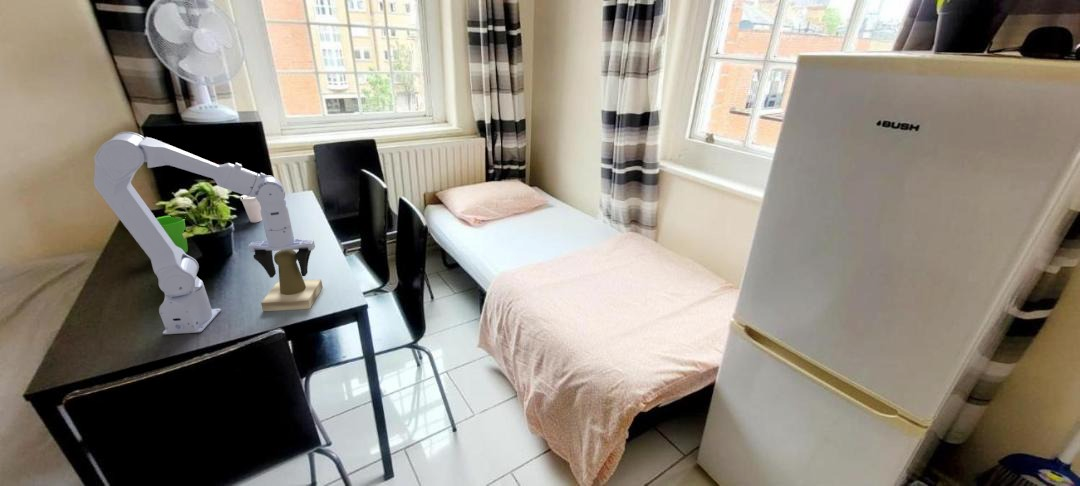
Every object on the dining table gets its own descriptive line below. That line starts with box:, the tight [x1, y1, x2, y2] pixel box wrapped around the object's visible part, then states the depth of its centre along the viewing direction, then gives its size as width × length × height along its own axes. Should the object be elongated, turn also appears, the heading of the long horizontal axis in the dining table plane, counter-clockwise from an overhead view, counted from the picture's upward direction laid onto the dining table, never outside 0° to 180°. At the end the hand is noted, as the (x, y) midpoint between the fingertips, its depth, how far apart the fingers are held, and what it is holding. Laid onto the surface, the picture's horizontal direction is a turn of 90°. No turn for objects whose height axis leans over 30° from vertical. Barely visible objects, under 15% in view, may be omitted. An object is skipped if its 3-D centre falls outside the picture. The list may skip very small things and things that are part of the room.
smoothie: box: [239, 194, 263, 223], centre depth 158 cm, size 6×6×14 cm
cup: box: [155, 215, 189, 254], centre depth 133 cm, size 9×9×11 cm
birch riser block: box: [260, 278, 323, 312], centre depth 113 cm, size 11×11×2 cm
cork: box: [273, 250, 306, 295], centre depth 111 cm, size 6×6×11 cm
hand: (289, 275), depth 111 cm, fingers open, 7 cm apart
